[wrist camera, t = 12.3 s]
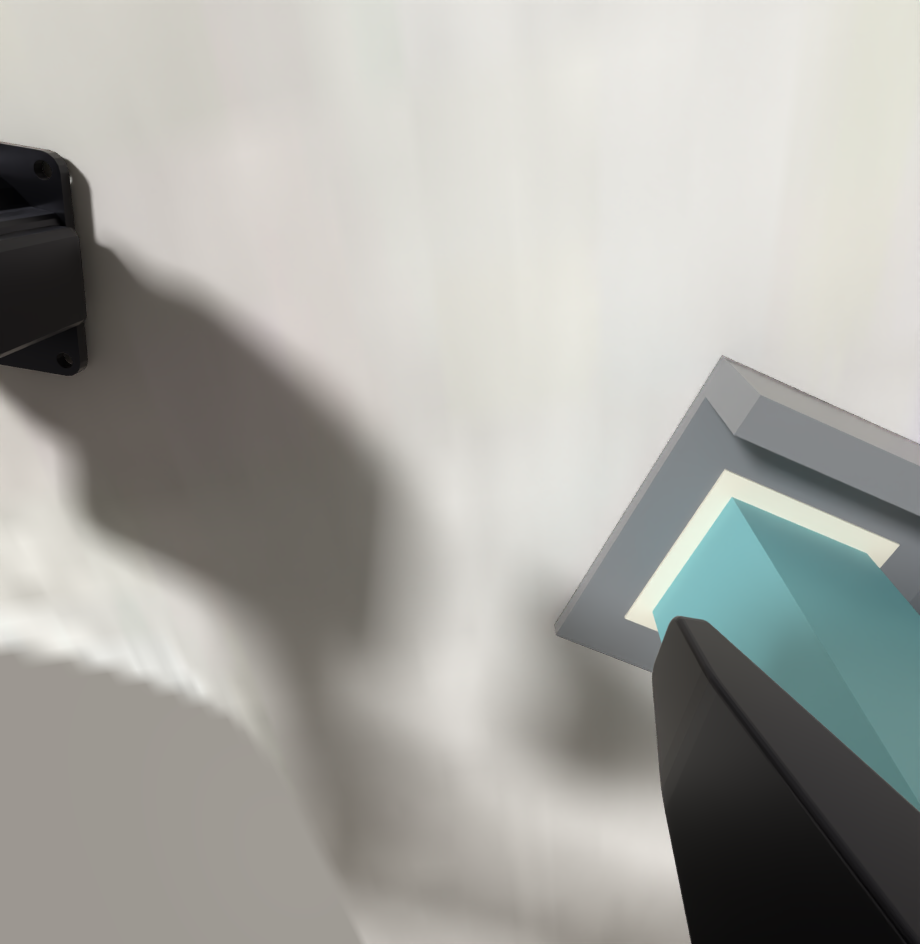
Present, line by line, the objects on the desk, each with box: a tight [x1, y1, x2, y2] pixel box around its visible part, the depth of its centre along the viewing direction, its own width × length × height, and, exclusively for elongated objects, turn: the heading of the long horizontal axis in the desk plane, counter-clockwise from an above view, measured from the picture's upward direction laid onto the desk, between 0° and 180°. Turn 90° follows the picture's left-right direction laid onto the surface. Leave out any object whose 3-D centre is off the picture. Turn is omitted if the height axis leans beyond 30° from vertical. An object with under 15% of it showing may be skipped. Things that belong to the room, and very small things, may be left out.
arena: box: [555, 355, 920, 673], centre depth 22 cm, size 11×11×4 cm
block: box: [652, 497, 920, 811], centre depth 17 cm, size 5×5×12 cm
